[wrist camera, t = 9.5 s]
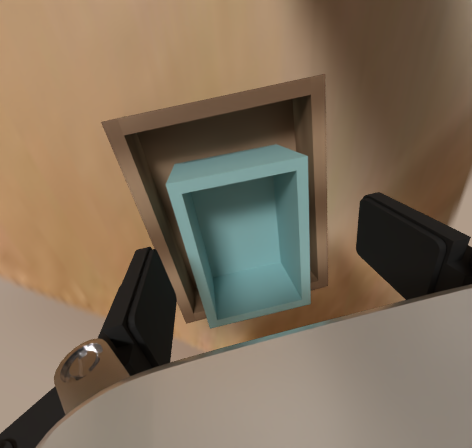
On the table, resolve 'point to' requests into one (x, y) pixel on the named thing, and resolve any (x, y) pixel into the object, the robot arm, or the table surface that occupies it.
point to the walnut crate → (218, 143)
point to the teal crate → (245, 230)
